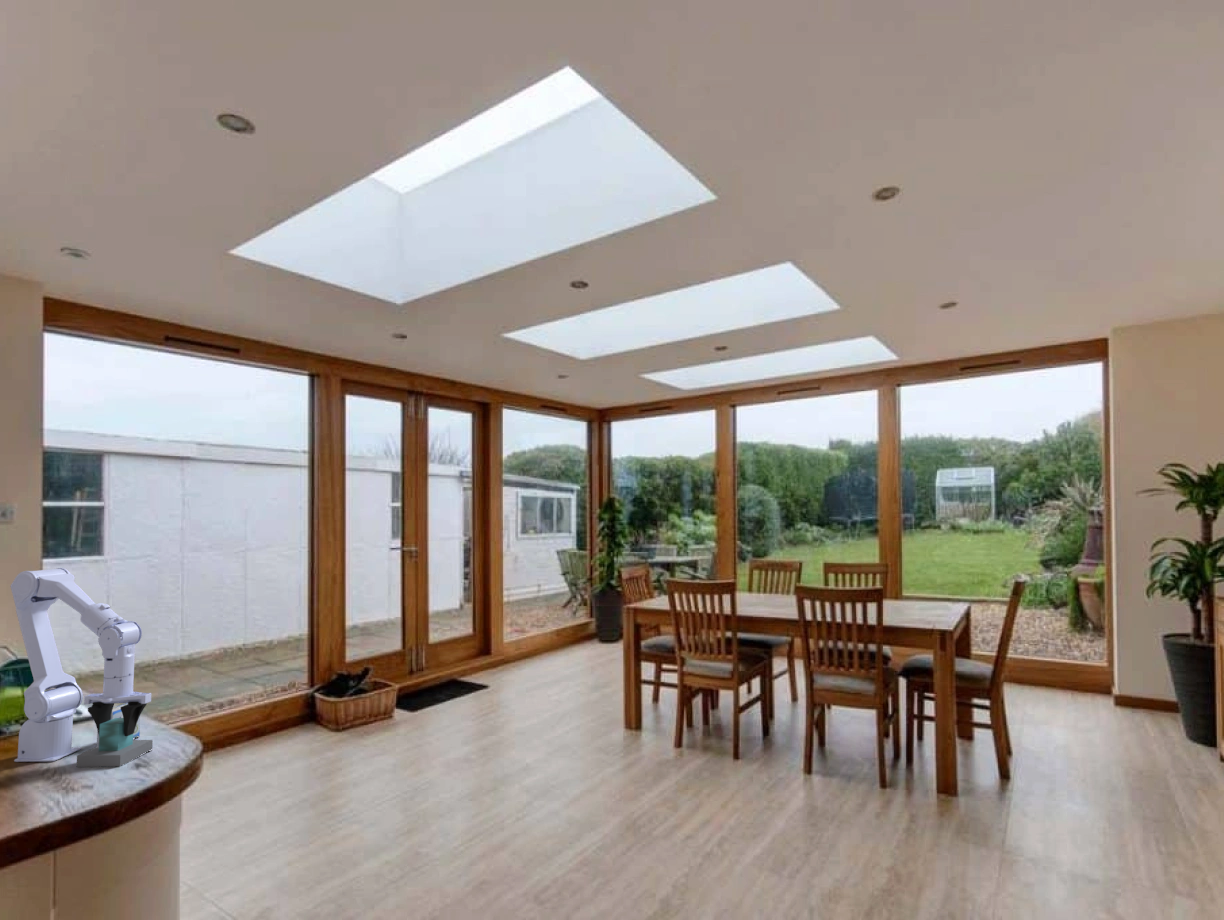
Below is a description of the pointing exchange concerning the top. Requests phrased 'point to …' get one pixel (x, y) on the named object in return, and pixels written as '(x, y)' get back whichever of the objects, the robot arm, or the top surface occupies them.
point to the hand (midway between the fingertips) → (116, 735)
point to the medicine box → (118, 714)
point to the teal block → (113, 736)
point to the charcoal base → (113, 755)
